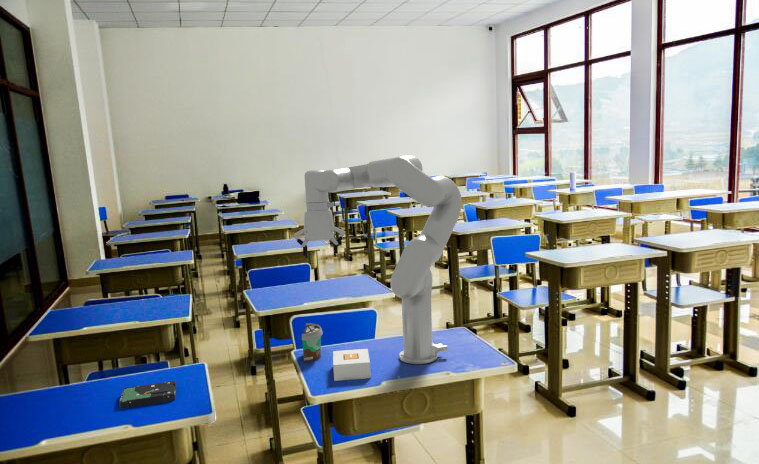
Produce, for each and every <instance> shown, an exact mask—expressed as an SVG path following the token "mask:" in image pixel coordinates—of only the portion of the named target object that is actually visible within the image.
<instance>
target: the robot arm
mask: <svg viewBox="0 0 759 464" xmlns="http://www.w3.org/2000/svg"><path fill="white" fill-rule="evenodd" d="M423 169H424V168H423V165H422V162H421V160H420V159H419V158H418V157H416V156H414V155H400V156H396V157H391V158H385V159H378V160H371V161H369V163H366V164H365V163H364V164H361V165H359V164H358V165H354V166H348V167H342V168H341V167H339V168H333V169H327V170H324V169H315V170H314V169H313V170H312V169H311V170H307V171H305V172H304V176H303V177H304V188H305V189H304V191H305V203H306V205H305V206H306V211H304V215H303V228H302V229H300V230H298V231H297V232H295V233H293V237H294V238H295V240H296V242H297V243H298V244H299V245H300V246H301V247H302V255H303V257H304V256H305V259H308V257H309V253H308V245H307V244H308V243H309V242H317V241H318V242H319V241H331V242H332V243H333V244H332V245H333V257H335V258H336V257H337V255H338V254H339V248H338V245H339V244H340V242H341V241H342V240H343V238H344V236H345V233H346V231H345V230H343V229H341V228H339V227H337V226H335V224H334V216H333V213H332V209H330V208H333V207H334V203H333V202H330V201H329V193H332V194H333V193H338V192H344V191H348V190H354V189H361V188H367V187H368V188H369V187H372V188H382V187H383V188H384V187H389V186H395V187H397V188H398V189H399V190H401V191H402V192H403V193H404V194H405V195H407V196H408V197H410V198H411V199H412V200H414V201H415V202H417V203H418V204H419V205H422V206H424V207H426V208H427V207H428V208H432V210H431V212H430V214H429V215H428V217H427V220H426V222H425V224H424V227H423V229H422V231H421V232H420V234H419V235H417V236H416V237H414V238H413V239H410V241H409V242H408V243H407V244H406V246H404V248H403V250H402V253H401V255H400V257H399V258H398V259H399V260H398V261H397V263H396V265H395V268H394V269H393V273H392V274H391V278H390V288H391V291H392V293H393V294H394V295H395V296H396V297H397V298H399V299H401V320H402V340H403V341H402V342H403V350H402V351H400V352H399V354H398V359H399V360H400V361H401V362H402V363H406V364H410V365H424V364H429V363H432V362H435V361H436V360H438V357H439V354H438V353H440V352H443V353H444V352H448V345H443V344H442V343H438V344H436V343H434V341H433V320H432V319H433V318H432V293H433V292H432V289H433V274H432V270H431V269H430V267H431V266H432V265H433V264H435V263H436V262H438V261H439V260H440V258H441V257H442V255H443V253H444V251H445V248H446V246H447V244H448V241H449V240H450V237H451V236H452V233H453V230H454V229H455V226H456V224H457V221H458V220H459V217H460V214H461V212H462V210H461V209H462V204H463V203H462V195H461V192H460V189H459V187H458V185H457V184H456V182H454V181H453V180H452V179H451V178H449V177H446V176H443V175H436V176H433V177H431V176H429V175H428V174H426V172H424V171H423ZM335 232H337V233H338V234H339V236H338V237H337V239H336V238H335ZM302 234H303V236H304V240H302V239H301V238H300V235H302Z"/></svg>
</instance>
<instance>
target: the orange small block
mask: <svg viewBox="0 0 759 464" xmlns="http://www.w3.org/2000/svg"><path fill="white" fill-rule="evenodd" d="M344 356H345V360H347V359H358V356H357V354H345V355H344Z"/></svg>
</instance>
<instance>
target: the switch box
mask: <svg viewBox="0 0 759 464" xmlns="http://www.w3.org/2000/svg"><path fill="white" fill-rule="evenodd" d="M345 354H357V356H358V359H347V360H345V356H344V355H345ZM332 359H333V360H332V362H333V364H332V365H333V380H334V382H337V381H338V382H339V381H350V380H351V381H352V380H363V379H371V377H372V374H371V361H370V353H369V349H368V348H360V349H359V348H358V349H357V348H356V349H345V350H343V349H342V350H335V351H334V350H333V351H332Z"/></svg>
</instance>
